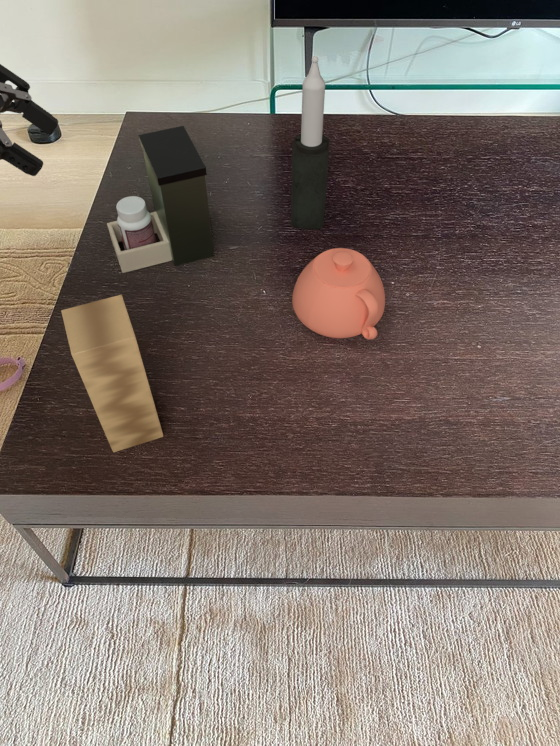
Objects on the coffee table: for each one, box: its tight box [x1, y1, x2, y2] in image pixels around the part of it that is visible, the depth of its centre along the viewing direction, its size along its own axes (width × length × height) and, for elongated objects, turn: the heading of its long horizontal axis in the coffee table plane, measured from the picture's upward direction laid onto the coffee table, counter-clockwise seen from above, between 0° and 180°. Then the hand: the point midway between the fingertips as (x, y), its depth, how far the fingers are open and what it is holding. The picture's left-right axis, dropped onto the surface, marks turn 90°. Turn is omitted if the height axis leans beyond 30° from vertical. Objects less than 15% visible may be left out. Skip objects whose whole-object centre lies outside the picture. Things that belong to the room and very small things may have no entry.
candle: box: [290, 55, 331, 230], centre depth 87 cm, size 5×5×25 cm
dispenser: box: [138, 125, 215, 267], centre depth 88 cm, size 6×10×15 cm, turn 21°
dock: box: [106, 211, 173, 274], centre depth 91 cm, size 7×7×4 cm
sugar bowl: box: [291, 247, 386, 340], centre depth 80 cm, size 12×14×10 cm
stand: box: [60, 294, 164, 453], centre depth 67 cm, size 6×6×18 cm
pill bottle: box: [115, 195, 157, 251], centre depth 89 cm, size 5×5×8 cm
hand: (47, 148), depth 74 cm, fingers open, 8 cm apart
